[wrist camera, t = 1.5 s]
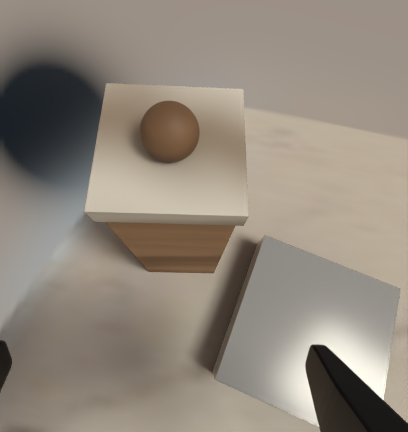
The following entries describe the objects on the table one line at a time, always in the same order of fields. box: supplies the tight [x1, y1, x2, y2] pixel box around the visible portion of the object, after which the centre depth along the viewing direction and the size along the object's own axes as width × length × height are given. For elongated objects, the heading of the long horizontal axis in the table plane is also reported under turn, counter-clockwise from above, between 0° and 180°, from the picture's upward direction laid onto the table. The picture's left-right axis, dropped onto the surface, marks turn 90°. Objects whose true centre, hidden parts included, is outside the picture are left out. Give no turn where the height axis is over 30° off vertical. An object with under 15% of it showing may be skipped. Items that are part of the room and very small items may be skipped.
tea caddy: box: [84, 83, 248, 273], centre depth 16 cm, size 5×5×15 cm
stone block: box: [212, 235, 400, 427], centre depth 20 cm, size 10×10×3 cm
